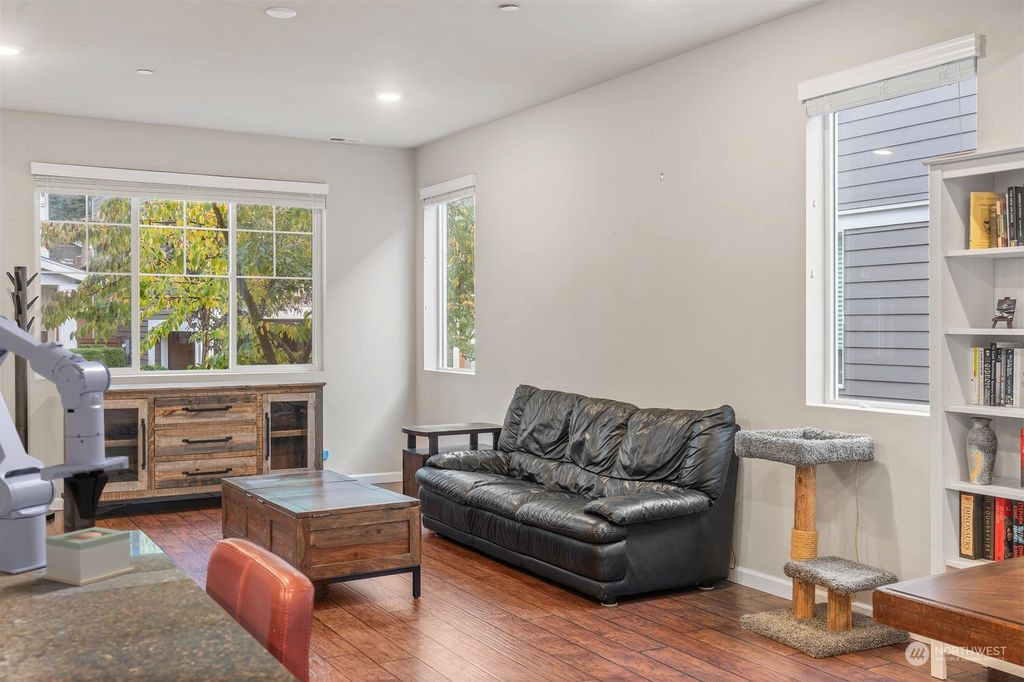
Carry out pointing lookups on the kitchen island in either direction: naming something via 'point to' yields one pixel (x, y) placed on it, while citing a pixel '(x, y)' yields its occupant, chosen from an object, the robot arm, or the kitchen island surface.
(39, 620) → the kitchen island surface
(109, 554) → the socket
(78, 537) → the peg
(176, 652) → the kitchen island surface
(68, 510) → the box
